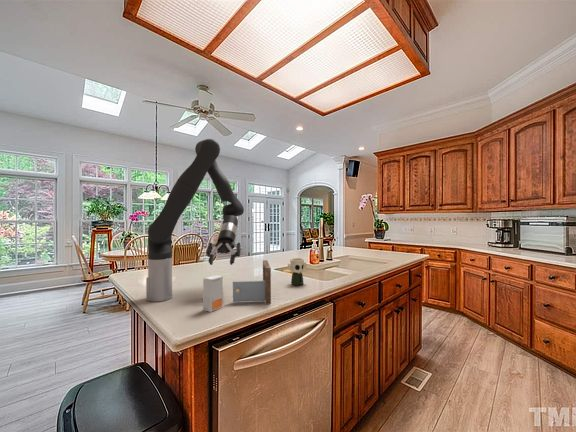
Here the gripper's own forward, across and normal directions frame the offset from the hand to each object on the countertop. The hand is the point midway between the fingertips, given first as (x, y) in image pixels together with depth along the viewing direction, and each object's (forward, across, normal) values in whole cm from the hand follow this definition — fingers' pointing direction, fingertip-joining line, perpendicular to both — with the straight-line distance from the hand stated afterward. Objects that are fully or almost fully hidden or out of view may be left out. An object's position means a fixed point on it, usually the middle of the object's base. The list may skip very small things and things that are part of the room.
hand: (220, 263), depth 108 cm
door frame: (+8, +19, +14) cm, 24 cm away
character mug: (-6, +32, +28) cm, 43 cm away
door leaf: (+13, +13, +8) cm, 20 cm away
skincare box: (+18, 0, +3) cm, 19 cm away
